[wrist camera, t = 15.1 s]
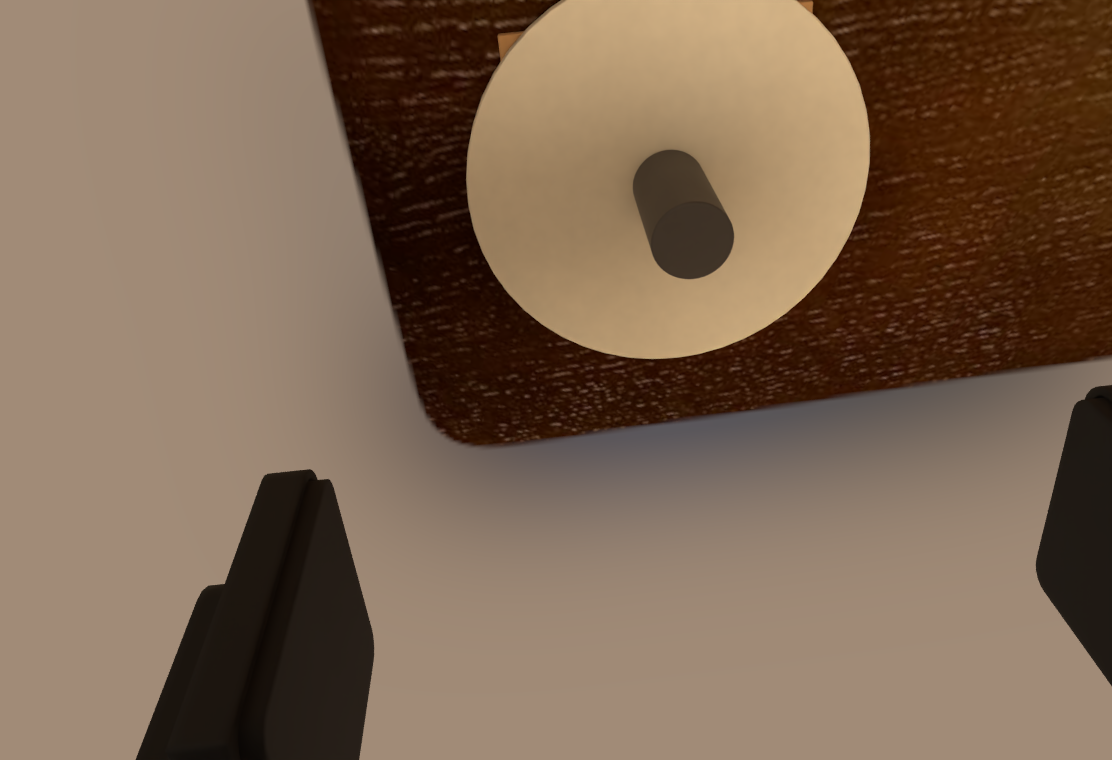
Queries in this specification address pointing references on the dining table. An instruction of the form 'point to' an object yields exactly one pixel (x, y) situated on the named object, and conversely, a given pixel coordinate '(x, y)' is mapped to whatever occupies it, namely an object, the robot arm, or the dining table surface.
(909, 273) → the dining table surface
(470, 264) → the dining table surface
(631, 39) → the lid
